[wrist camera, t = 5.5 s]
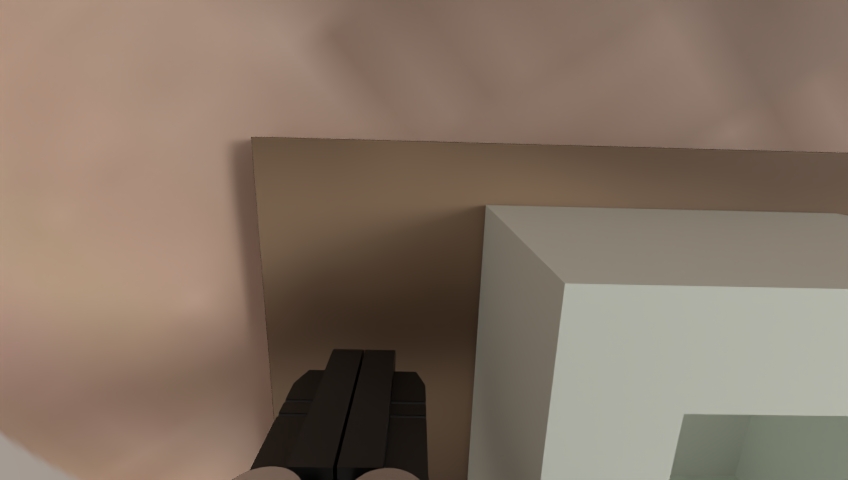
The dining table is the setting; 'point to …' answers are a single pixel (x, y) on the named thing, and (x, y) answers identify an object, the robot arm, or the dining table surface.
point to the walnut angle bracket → (459, 241)
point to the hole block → (661, 345)
